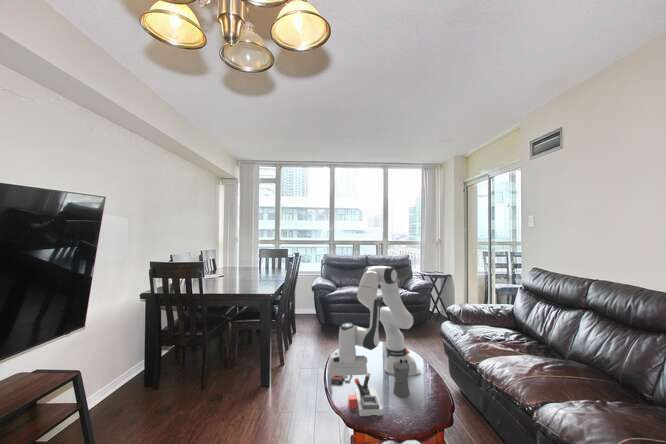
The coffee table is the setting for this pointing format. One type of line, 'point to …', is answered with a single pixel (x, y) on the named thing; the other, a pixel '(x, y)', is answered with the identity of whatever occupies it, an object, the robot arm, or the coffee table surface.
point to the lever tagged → (359, 386)
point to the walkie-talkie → (337, 379)
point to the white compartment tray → (368, 402)
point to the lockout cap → (352, 401)
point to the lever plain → (366, 380)
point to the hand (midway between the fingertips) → (347, 383)
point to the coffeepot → (401, 378)
